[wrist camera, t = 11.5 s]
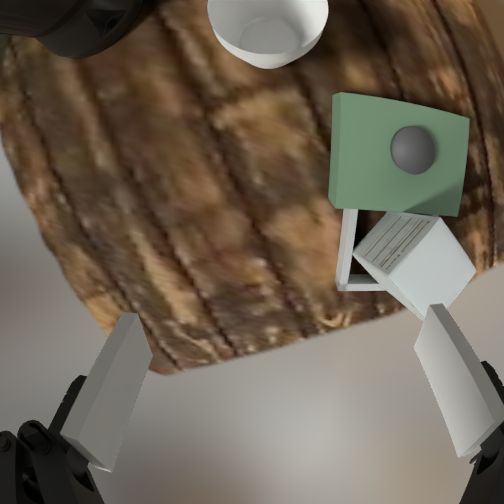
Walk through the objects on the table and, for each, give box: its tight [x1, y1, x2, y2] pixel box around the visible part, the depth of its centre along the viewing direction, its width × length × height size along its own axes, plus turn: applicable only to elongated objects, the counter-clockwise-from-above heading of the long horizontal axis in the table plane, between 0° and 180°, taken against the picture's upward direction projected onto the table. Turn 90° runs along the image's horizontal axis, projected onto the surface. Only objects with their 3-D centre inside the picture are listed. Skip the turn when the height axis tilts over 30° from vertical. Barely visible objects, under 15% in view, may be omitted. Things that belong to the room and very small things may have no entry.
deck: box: [328, 92, 469, 291], centre depth 30 cm, size 23×16×5 cm
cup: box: [207, 0, 328, 69], centre depth 21 cm, size 9×9×12 cm
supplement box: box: [352, 211, 476, 322], centre depth 28 cm, size 7×7×13 cm
